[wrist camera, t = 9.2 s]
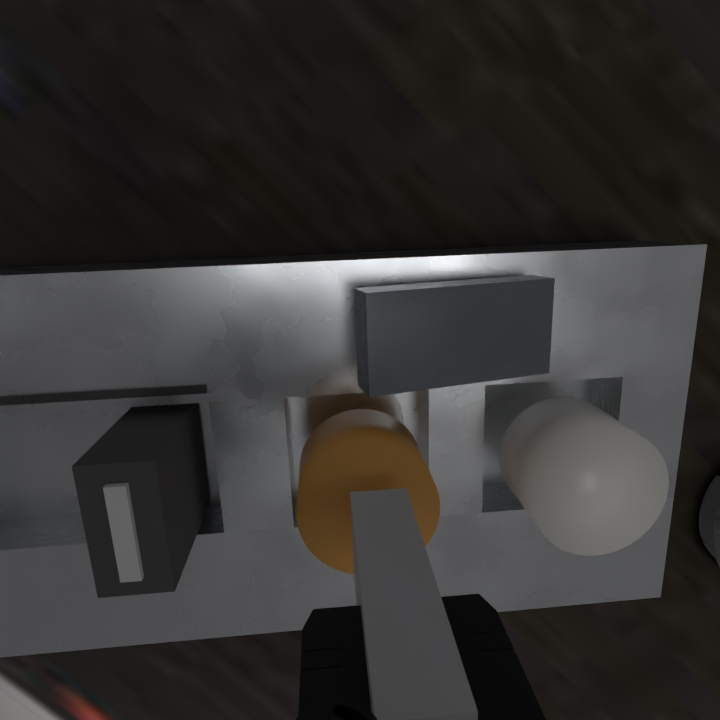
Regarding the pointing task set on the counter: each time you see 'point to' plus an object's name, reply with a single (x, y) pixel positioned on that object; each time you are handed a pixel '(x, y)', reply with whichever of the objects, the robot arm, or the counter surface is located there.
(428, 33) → the counter surface
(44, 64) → the counter surface
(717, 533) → the mug
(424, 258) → the panel
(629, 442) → the cream button
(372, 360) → the block
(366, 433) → the orange button
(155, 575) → the slider knob
